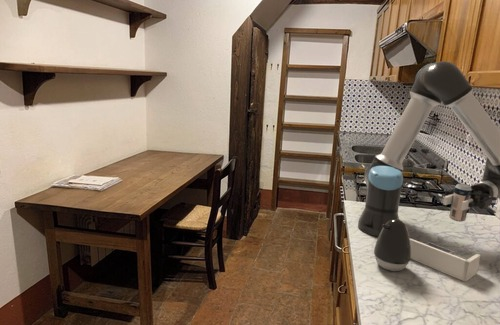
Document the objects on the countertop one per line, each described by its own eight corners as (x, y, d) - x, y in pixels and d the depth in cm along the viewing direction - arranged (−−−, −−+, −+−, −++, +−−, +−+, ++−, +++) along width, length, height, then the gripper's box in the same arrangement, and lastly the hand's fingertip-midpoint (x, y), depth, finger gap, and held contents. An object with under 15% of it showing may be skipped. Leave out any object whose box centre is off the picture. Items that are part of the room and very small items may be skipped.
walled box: (465, 281, 101) (469, 262, 100) (388, 248, 119) (390, 232, 118) (480, 270, 108) (484, 252, 106) (405, 241, 126) (407, 225, 125)
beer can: (466, 223, 117) (473, 188, 114) (450, 220, 118) (456, 185, 116) (463, 218, 121) (470, 184, 118) (448, 215, 123) (454, 182, 120)
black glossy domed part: (364, 261, 110) (370, 215, 106) (390, 256, 114) (396, 211, 111) (389, 278, 101) (396, 228, 97) (416, 272, 105) (424, 223, 102)
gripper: (508, 210, 123) (481, 223, 109) (454, 195, 137) (424, 205, 122) (513, 189, 121) (487, 200, 107) (458, 176, 135) (428, 185, 121)
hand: (453, 203), depth 115 cm, fingers closed on beer can, 5 cm apart
